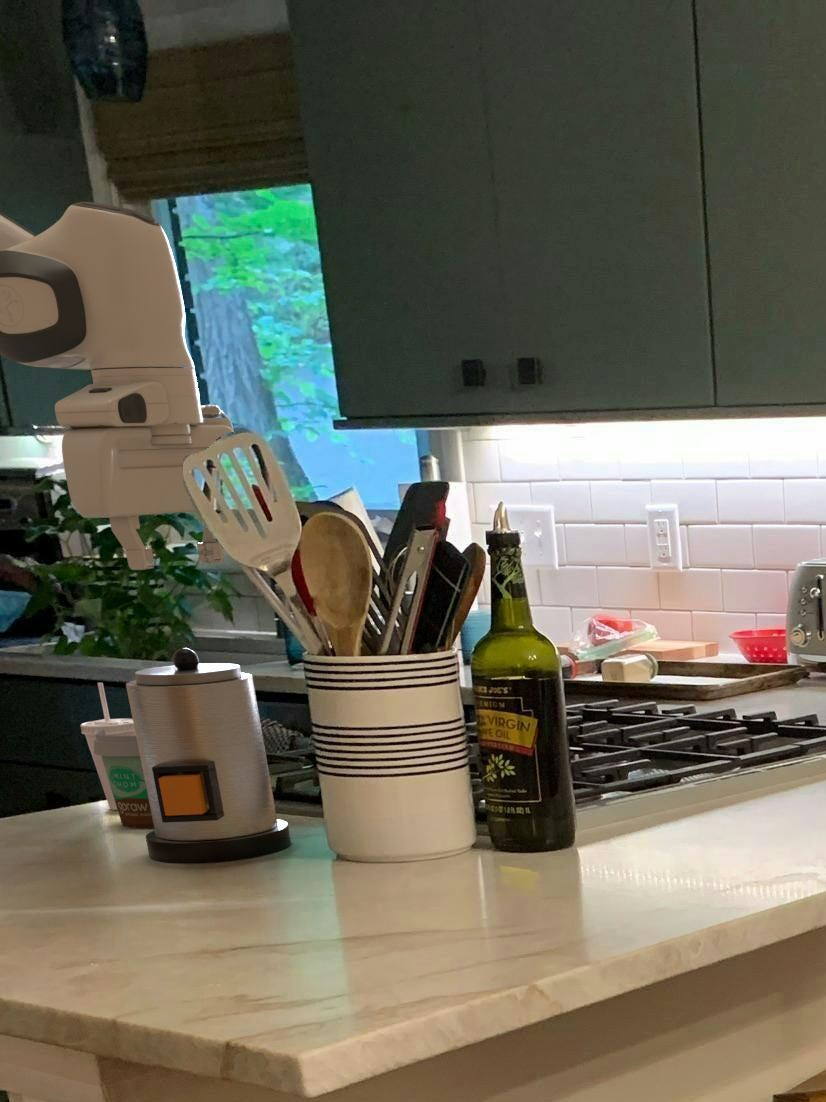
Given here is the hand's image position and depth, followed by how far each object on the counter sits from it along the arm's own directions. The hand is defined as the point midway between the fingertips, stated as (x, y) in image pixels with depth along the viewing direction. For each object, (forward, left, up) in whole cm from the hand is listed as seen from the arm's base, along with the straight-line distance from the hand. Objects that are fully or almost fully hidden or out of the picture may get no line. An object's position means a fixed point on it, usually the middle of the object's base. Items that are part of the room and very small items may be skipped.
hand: (178, 565), depth 182 cm
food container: (-15, +24, -28) cm, 40 cm away
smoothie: (-22, +37, -28) cm, 52 cm away
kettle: (-3, +8, -28) cm, 30 cm away
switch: (-3, 0, -23) cm, 23 cm away
